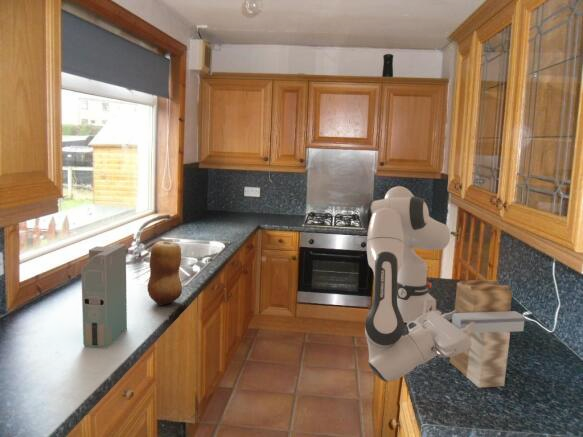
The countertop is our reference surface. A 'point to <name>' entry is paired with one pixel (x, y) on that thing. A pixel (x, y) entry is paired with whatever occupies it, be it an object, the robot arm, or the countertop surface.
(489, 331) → the foil carton
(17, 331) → the countertop surface
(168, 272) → the butternut squash
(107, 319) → the device
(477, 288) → the tall wood grain block
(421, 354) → the robot arm
